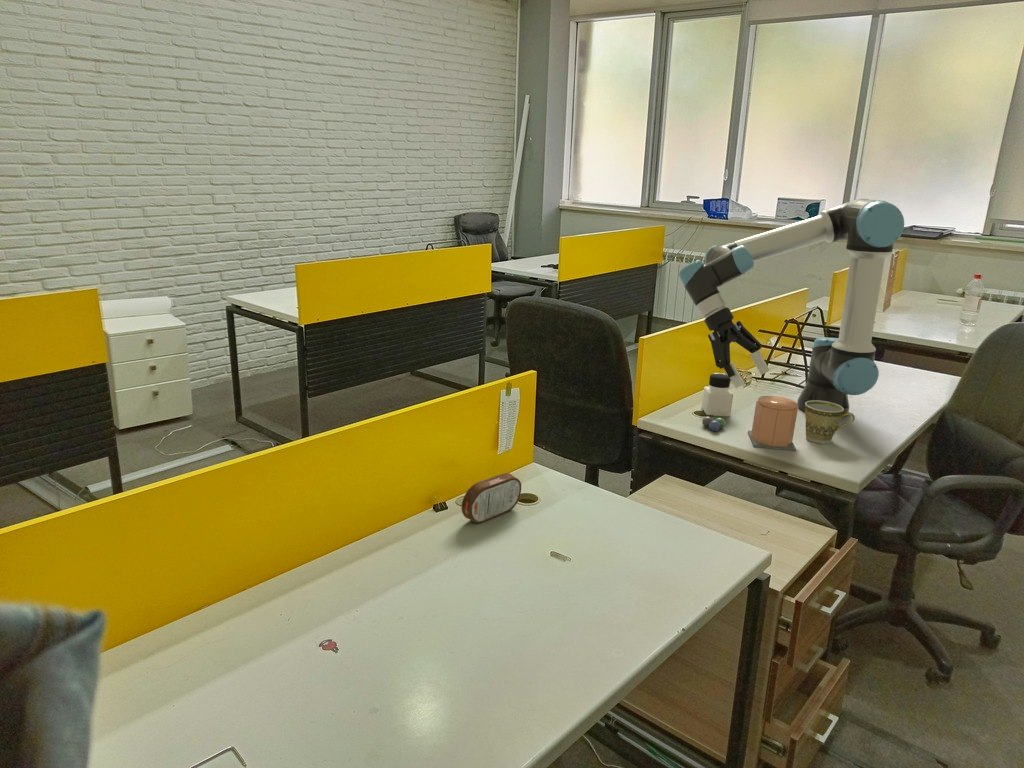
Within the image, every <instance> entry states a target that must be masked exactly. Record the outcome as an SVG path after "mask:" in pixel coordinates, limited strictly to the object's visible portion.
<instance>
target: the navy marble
mask: <svg viewBox="0 0 1024 768" xmlns="http://www.w3.org/2000/svg"><path fill="white" fill-rule="evenodd" d="M708 428H709V429H710V431H713V432H717V431H718V430H720V429H721V428H720V424H719V422H718V421H715V420H713V421H711V422H710V424H709V427H708Z"/></svg>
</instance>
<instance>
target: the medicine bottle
mask: <svg viewBox="0 0 1024 768" xmlns="http://www.w3.org/2000/svg"><path fill="white" fill-rule="evenodd" d="M730 385H731V379H730V377H729V376H728V375H727V373H726V374H725V373H723V372H722V373H721V372H714V373H711V374H710V376H709V382H708V386H706V385H705V386H704V387H703V392H702V401H701V410H704V411H703V412H704V413H705V415H706V416H710V415H714V417H715V416H716V417H731V410H732V405H733V404H732V403H733V398H734V394H733V393H732V391H730Z"/></svg>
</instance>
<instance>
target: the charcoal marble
mask: <svg viewBox="0 0 1024 768" xmlns="http://www.w3.org/2000/svg"><path fill="white" fill-rule="evenodd" d="M701 421H702V423H701V424H702V425H703V427H706V428H709V424H710V422H711V421H714V419H713V418H712V417H710V416H705V417H704V418H703V419H702V420H701Z"/></svg>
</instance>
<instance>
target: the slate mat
mask: <svg viewBox="0 0 1024 768" xmlns="http://www.w3.org/2000/svg"><path fill="white" fill-rule="evenodd" d="M751 433H752V430H747V434H748V437H749V440H750V441H751V442H750V443H752V446H753V448H763V449H772V450H780V451H781V450H782V451H791V452H792V451H793V452H797V448H796V446H795V444H794V442H793V441H792V443H791V444H789V445H788V446H769V445H765V444H762V443H758V442H756V441H755V440H754V439H753V438H752V437H751Z"/></svg>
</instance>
